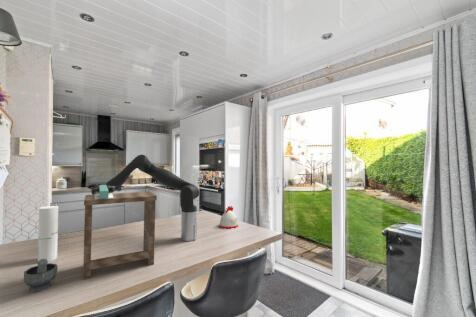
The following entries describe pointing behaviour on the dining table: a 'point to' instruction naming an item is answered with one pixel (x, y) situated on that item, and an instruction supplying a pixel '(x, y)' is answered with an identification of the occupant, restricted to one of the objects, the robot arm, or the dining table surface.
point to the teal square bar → (103, 191)
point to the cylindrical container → (48, 233)
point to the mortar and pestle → (40, 275)
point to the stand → (148, 230)
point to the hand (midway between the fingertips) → (108, 188)
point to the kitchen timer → (228, 219)
